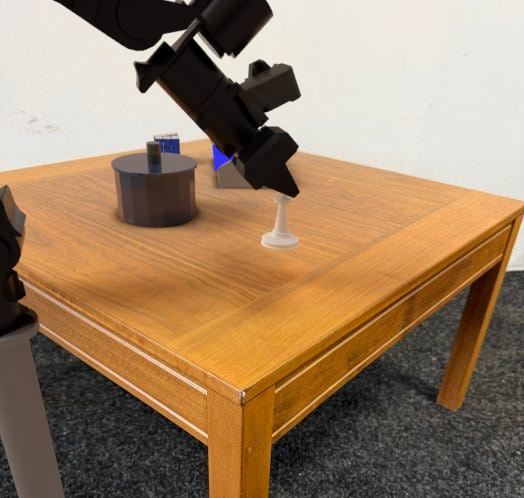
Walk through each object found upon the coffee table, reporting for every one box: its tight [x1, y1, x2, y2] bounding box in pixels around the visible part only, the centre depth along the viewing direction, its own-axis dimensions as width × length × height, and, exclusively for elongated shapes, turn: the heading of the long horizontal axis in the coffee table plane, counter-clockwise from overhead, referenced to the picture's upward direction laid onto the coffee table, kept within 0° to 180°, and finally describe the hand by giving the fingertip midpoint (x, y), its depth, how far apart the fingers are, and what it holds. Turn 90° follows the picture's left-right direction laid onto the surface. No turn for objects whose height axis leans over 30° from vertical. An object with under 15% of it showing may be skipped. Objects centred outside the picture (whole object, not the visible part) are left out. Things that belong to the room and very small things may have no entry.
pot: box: [113, 169, 197, 228], centre depth 90 cm, size 13×13×8 cm
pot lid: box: [110, 140, 198, 177], centre depth 87 cm, size 14×14×4 cm
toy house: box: [211, 144, 268, 189], centre depth 114 cm, size 22×14×7 cm, turn 6°
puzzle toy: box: [153, 132, 181, 154], centre depth 120 cm, size 6×5×6 cm
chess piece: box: [260, 163, 300, 252], centre depth 68 cm, size 5×5×10 cm
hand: (293, 192), depth 67 cm, fingers closed on chess piece
